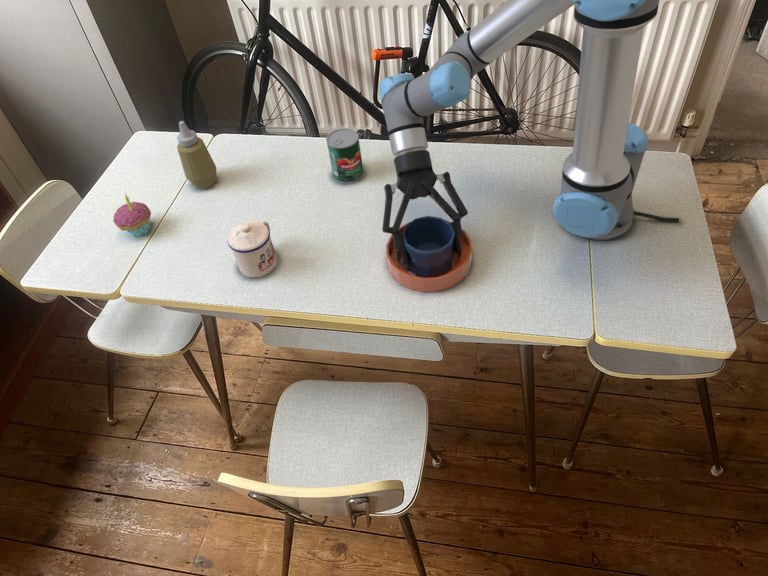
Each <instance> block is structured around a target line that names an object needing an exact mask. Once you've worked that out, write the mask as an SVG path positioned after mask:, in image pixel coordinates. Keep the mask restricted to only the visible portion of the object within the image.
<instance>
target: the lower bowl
mask: <svg viewBox="0 0 768 576" xmlns="http://www.w3.org/2000/svg"><path fill="white" fill-rule="evenodd" d="M444 220H445V221H447V222H448V223H450V222H451V221H450V220H449V221H448V220H446V219H444ZM410 222H411V221H409V222H407V223H404V224H403V225H402V226H401V225H400V228H399V231H398V233H403V231H404V228H405V226H406V225H407V224H408V223H410ZM462 232H463V234H462V235H461V236H459V241H460V246H461V251H462V252H460V253H455V260H454V263H453V266H452V269H451V270H450V271H448V272H447V273H446V274H445V275H442V276H439V277H431V278H422V277H417V276H415V275H413V274H412V273H411V272H409V271H408V270H407V268H406V265H405V264H403V259H402V254H401V249H396V248H395V246H394V241H393V236H392V234H390V236H389V238H388V241H387V243H386V249H385V251H386V263H387V269H388V271H389V274H390V275H391V277H392V278H393V279H394V280H395V281H396V282H397V283H398V284H399V285H401V286H403V287H405V288H407V289H409V290H411V291H416V292H420V293H421V292H422V293H435V292H441V291H445V290H448V289H452V288H453V287H454V286H457V284H459V283H461V282H462V281H463V280H464V279H465V277H466V276H467V275H468V274H469V273H470V269H471V265H472V263H473V262H472V261H473V260H472V259H473V258H472V257H473V246H472V240H471V238H470V237H469V236H468V233H467V232H466V230H464V229H463V228H462Z"/></svg>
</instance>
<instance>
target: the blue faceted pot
mask: <svg viewBox="0 0 768 576" xmlns="http://www.w3.org/2000/svg"><path fill="white" fill-rule="evenodd" d="M445 220H446V219H444V218H442V217H438V216H432V215H426V216H421V217H417V218H414V219H413V220H411V221H409V222H410V223H408V222H407V223H408V224H407V225H406V226H405V228H404V231H403V233H402V234H403V238H404V243H405V248H406V253H407V258H408V262H409V264H405V265H406V268H407V270H408V271H409V272H411V273H412V274H413V275H415V276H417V277H422V278H431V277H439V276H442V275H445V274H446V273H447V272H448V271H450V270H451V269H452V266H453V263H454V260H455V232H454V230H453V228H452V225H451V224H450V223H448V222H447V221H448V220H446V221H445Z"/></svg>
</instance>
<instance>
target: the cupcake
mask: <svg viewBox="0 0 768 576" xmlns="http://www.w3.org/2000/svg"><path fill="white" fill-rule="evenodd" d="M124 199H125V201H126V203H125V204H122V205H121V206H119V207H118V208H117V209H116V211H115V212H114V216H113V219H112V220H113V224H114V225H115V226H116V227H117V228H118V229H119V230H121V231H126V232H128V234H130V235H131V236H132V237H142V236H145V235H146V234H147V233H148V232H149V231H150V229H151V224H150V223H151V221H150V220H151V216H152V212H151V210H150V208H149V207H148V205H147V204H145V203H144V202H139V201H131V200H130V199H129V196H128V195H127V193H125V194H124Z"/></svg>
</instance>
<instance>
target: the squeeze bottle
mask: <svg viewBox="0 0 768 576" xmlns="http://www.w3.org/2000/svg"><path fill="white" fill-rule="evenodd" d="M178 128H179V134H178V135H177V136H176V139H177V141H178V143H177V146H176V149H177V152H178V155H179V159H180V163H181V165H182V166H181V167H182V169H183V172H184V176H185V178H186V179H187V181H189V182H190V183H191V184H192V185H193V187H195V188H196V189H200V190H204V189H208V188H210V187H212V186H213V185H214V184H215V183H216V181H217V165H216V164H215V162H214V159H213V157H212V156H211V153H210V152H209V150H208V148H207V146H206V144H205V142H204V140H203V139H202V138H201V137H199V136H198V135H197V132H196V131H194V130H191V129H189V127H188V126H187V124H186V123H185V121H184V120H180V121H179V122H178Z"/></svg>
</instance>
